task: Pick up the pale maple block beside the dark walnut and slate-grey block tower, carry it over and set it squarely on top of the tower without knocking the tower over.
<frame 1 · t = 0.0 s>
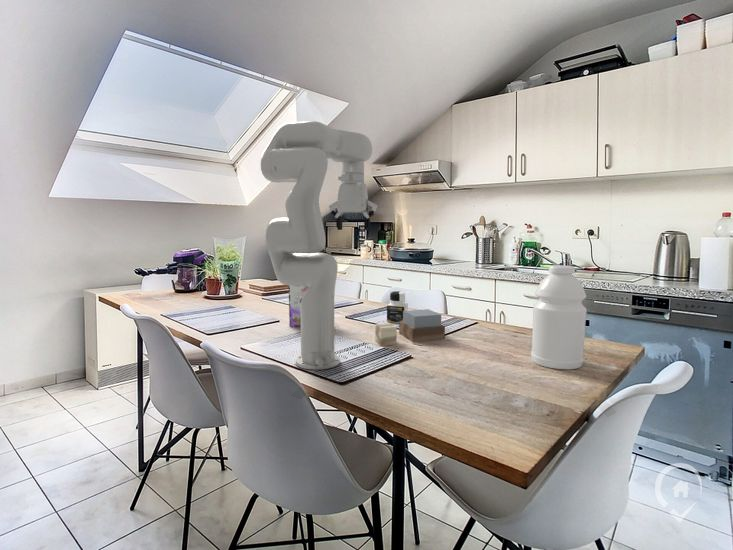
hand: (353, 229, 154), 37 cm above the table, tool pointing down, fingers open, 9 cm apart
candy box: (308, 326, 172), on the table
slate top block: (421, 323, 156), point 5 cm above the table, touching walnut base block
bottle: (556, 363, 129), on the table
walnut base block: (421, 337, 157), on the table, touching slate top block
maple block: (385, 343, 148), on the table
medicine bottle: (397, 321, 181), on the table
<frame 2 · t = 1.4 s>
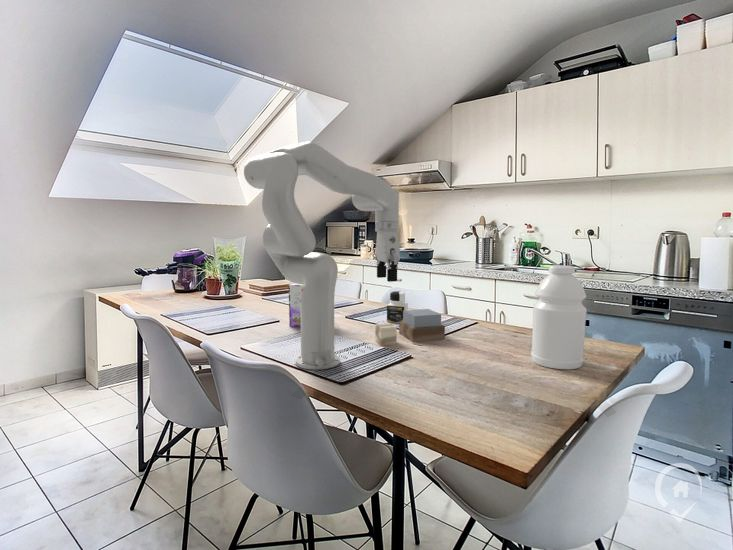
hand: (386, 279, 146), 21 cm above the table, tool pointing down, fingers open, 9 cm apart
nothing on the table moved.
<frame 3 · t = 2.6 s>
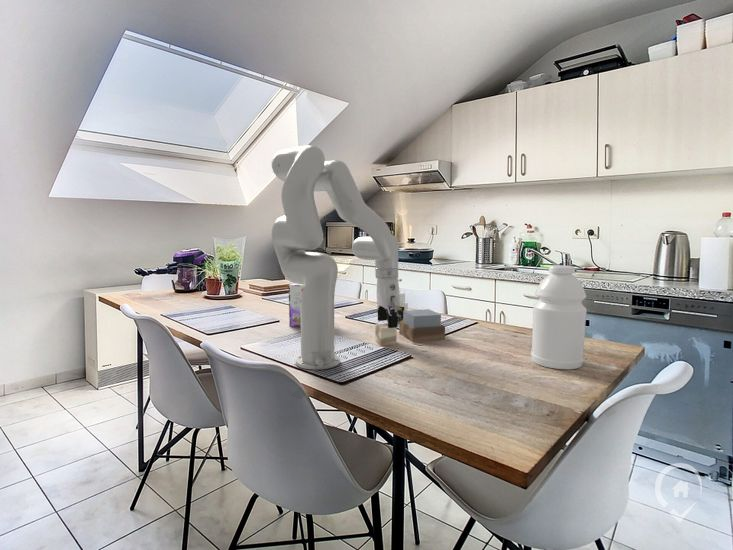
hand: (387, 323, 148), 6 cm above the table, tool pointing down, fingers open, 9 cm apart
nothing on the table moved.
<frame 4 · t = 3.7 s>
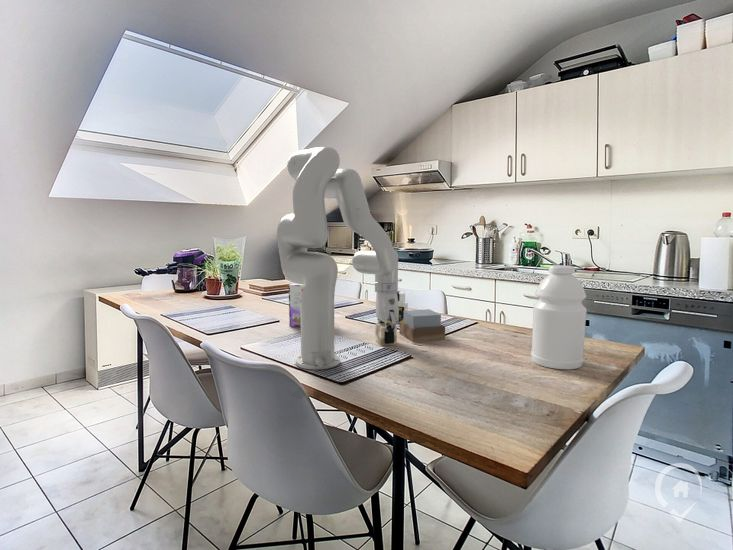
hand: (385, 340, 148), 1 cm above the table, tool pointing down, fingers closed on maple block, 5 cm apart
maple block: (385, 342, 148), on the table, touching gripper
everything else where it was.
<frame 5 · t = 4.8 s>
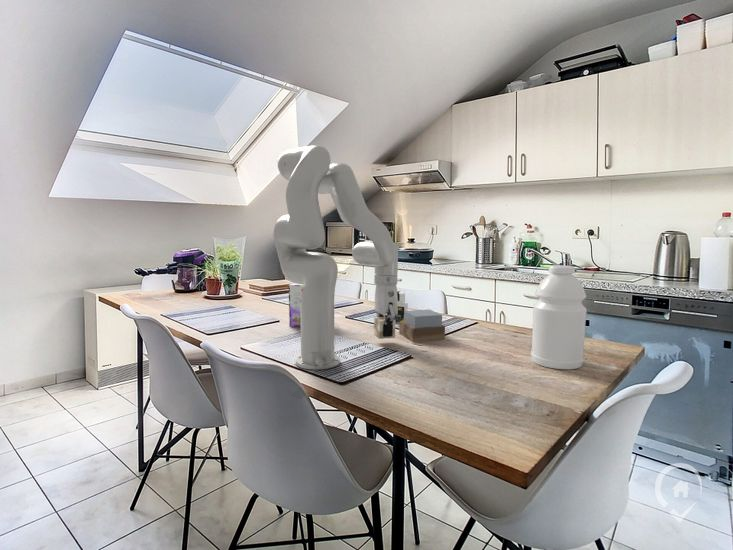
hand: (384, 333, 147), 3 cm above the table, tool pointing down, fingers closed on maple block, 5 cm apart
maple block: (384, 336, 147), point 2 cm above the table, touching gripper
everything else where it was.
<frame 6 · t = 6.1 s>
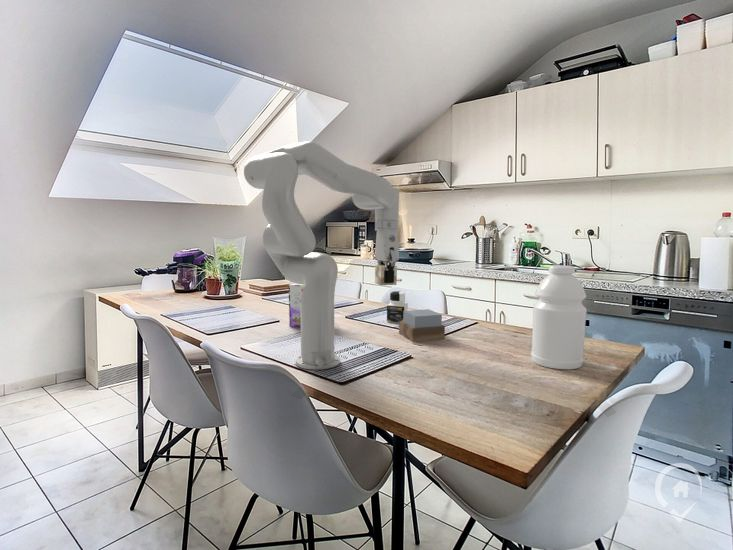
hand: (385, 281, 145), 21 cm above the table, tool pointing down, fingers closed on maple block, 5 cm apart
maple block: (385, 283, 146), point 20 cm above the table, touching gripper
everything else where it was.
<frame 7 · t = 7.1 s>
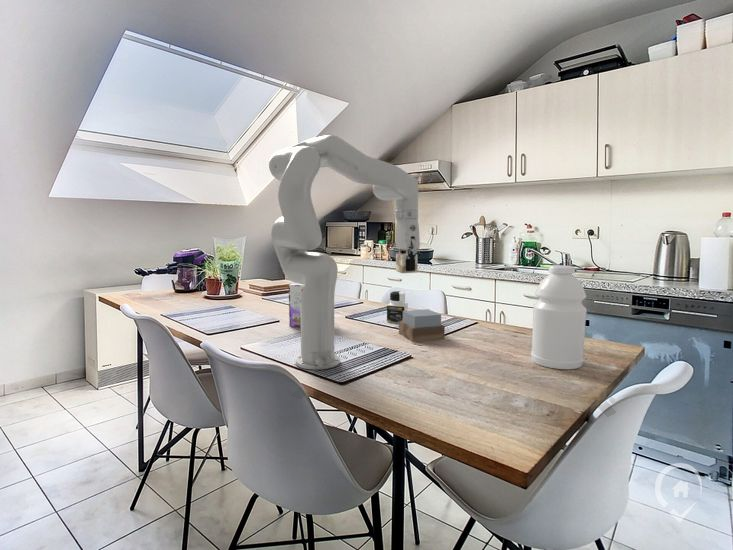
hand: (406, 269, 150), 24 cm above the table, tool pointing down, fingers closed on maple block, 5 cm apart
slate top block: (421, 323, 156), point 5 cm above the table
walnut base block: (421, 337, 157), on the table
maple block: (406, 271, 150), point 23 cm above the table, touching gripper
everything else where it was.
when the fingers open (11 cm above the table, at t = 11.1 s): maple block drops 1 cm, point 9 cm above the table.
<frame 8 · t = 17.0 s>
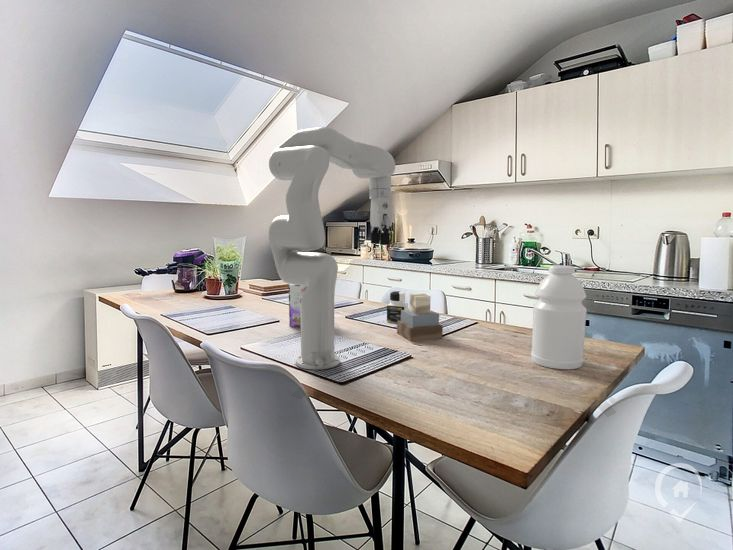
hand: (379, 244, 156), 32 cm above the table, tool pointing down, fingers open, 9 cm apart
slate top block: (419, 323, 157), point 5 cm above the table, touching walnut base block
walnut base block: (419, 337, 157), on the table, touching slate top block
maple block: (419, 312, 156), point 9 cm above the table
everything else where it was.
at the end: maple block 0.3 cm off-centre on the slate top block, point 4.0 cm above the slate top block's base; slate top block 0.2 cm off-centre on the walnut base block, point 5.0 cm above the walnut base block's base; maple block tilted 0° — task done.
